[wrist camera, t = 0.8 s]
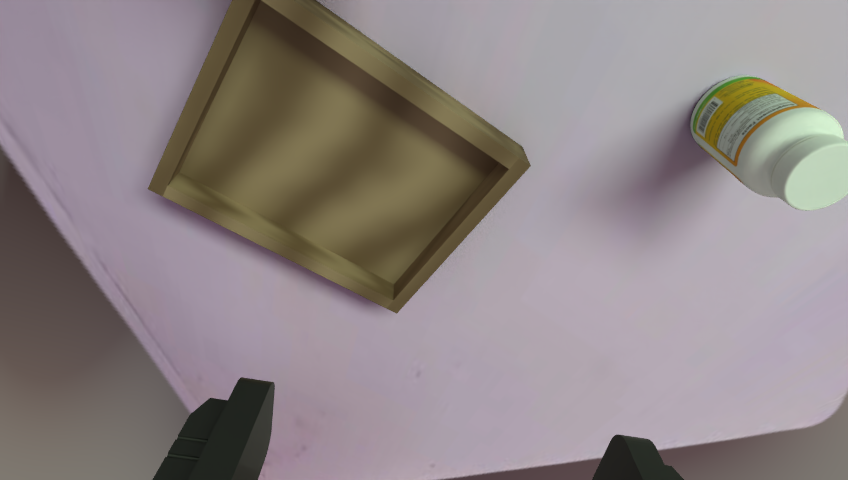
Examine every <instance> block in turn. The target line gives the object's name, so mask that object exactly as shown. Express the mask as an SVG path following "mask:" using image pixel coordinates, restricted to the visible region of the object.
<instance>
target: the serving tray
mask: <svg viewBox="0 0 848 480" xmlns="http://www.w3.org/2000/svg"><path fill="white" fill-rule="evenodd" d="M530 166H531V165H530V163H529V161H528V159H527V156H526V154H525V152H524V149H523V147H522V146H520V145H519V144H518V143H516V142H515V141H513V140H512V139H511V138H509V137H508V136H506V135H505V134H503V133H502V132H501V131H499V130H498V129H496V128H495V127H494V126H492V125H491V124H489V123H488V122H487V121H485V120H484V119H482V118H481V117H480V116H478V115H477V114H475V113H474V112H472V111H471V110H470V109H468V108H467V107H465V106H464V105H463V104H461V103H460V102H458V101H457V100H456V99H454V98H453V97H451V96H450V95H448V94H447V93H446V92H444V91H443V90H441V89H440V88H439V87H437V86H436V85H434V84H433V83H432V82H430V81H429V80H427V79H426V78H425V77H423V76H422V75H420V74H419V73H417V72H416V71H415V70H413V69H412V68H410V67H409V66H408V65H406V64H405V63H403V62H402V61H401V60H399V59H398V58H396V57H395V56H394V55H392V54H391V53H389V52H388V51H386V50H385V49H384V48H382V47H381V46H379V45H378V44H377V43H375V42H374V41H372V40H371V39H370V38H368V37H367V36H365V35H364V34H362V33H361V32H360V31H358V30H357V29H355V28H354V27H353V26H351V25H350V24H348V23H347V22H346V21H344V20H343V19H341V18H340V17H339V16H337V15H336V14H334V13H333V12H331V11H330V10H329V9H327V8H326V7H324V6H323V5H322V4H320V3H319V2H317V1H316V0H232V2H231V4H230V6H229V8H228V11H227V13H226V15H225V17H224V20H223V22H222V24H221V26H220V28H219V31H218V33H217V35H216V37H215V40H214V42H213V44H212V46H211V49H210V51H209V53H208V55H207V58H206V60H205V62H204V64H203V66H202V69H201V71H200V73H199V75H198V78H197V80H196V82H195V84H194V87H193V89H192V91H191V93H190V96H189V98H188V100H187V102H186V105H185V107H184V109H183V111H182V113H181V116H180V118H179V120H178V122H177V125H176V127H175V129H174V131H173V134H172V136H171V138H170V140H169V143H168V145H167V147H166V149H165V151H164V154H163V156H162V158H161V160H160V163H159V165H158V167H157V169H156V172H155V174H154V176H153V178H152V181H151V183H150V185H149V187H148V189H149V190H151V191H153V192H155V193H157V194H159V195H161V196H163V197H165V198H167V199H169V200H171V201H173V202H175V203H177V204H179V205H181V206H183V207H185V208H187V209H189V210H191V211H193V212H195V213H197V214H199V215H201V216H203V217H205V218H207V219H209V220H211V221H213V222H215V223H217V224H219V225H221V226H223V227H225V228H227V229H229V230H231V231H233V232H235V233H237V234H239V235H241V236H243V237H245V238H247V239H249V240H251V241H253V242H255V243H257V244H259V245H261V246H263V247H265V248H267V249H269V250H271V251H273V252H275V253H277V254H279V255H281V256H283V257H285V258H287V259H289V260H291V261H293V262H295V263H297V264H299V265H301V266H303V267H305V268H307V269H309V270H311V271H313V272H315V273H317V274H319V275H321V276H323V277H325V278H327V279H329V280H331V281H333V282H335V283H337V284H339V285H341V286H343V287H345V288H347V289H349V290H351V291H353V292H355V293H357V294H359V295H361V296H363V297H365V298H367V299H369V300H371V301H373V302H375V303H377V304H379V305H381V306H383V307H385V308H387V309H389V310H391V311H393V312H395V313H398V312H399V310H400V309H401V308H402V307H403V306H404V305H405V304H406V303H407V302H408V301H409V299H410V298H411V297H412V296H413V295H414V294H415V293H416V292H417V291H418V290H419V288H420V287H421V286H422V285H423V284H424V283H425V282H426V281H427V280H428V278H429V277H430V276H431V275H432V274H433V273H434V272H435V271H436V270H437V269H438V267H439V266H440V265H441V264H442V263H443V262H444V261H445V260H446V259H447V258H448V256H449V255H450V254H451V253H452V252H453V251H454V250H455V249H456V248H457V246H458V245H459V244H460V243H461V242H462V241H463V240H464V239H465V238H466V237H467V235H468V234H469V233H470V232H471V231H472V230H473V229H474V228H475V227H476V226H477V224H478V223H479V222H480V221H481V220H482V219H483V218H484V217H485V216H486V215H487V213H488V212H489V211H490V210H491V209H492V208H493V207H494V206H495V205H496V203H497V202H498V201H499V200H500V199H501V198H502V197H503V196H504V195H505V194H506V192H507V191H508V190H509V189H510V188H511V187H512V186H513V185H514V184H515V183H516V181H517V180H518V179H519V178H520V177H521V176H522V175H523V174H524V173H525V171H526V170H527V169H528V168H529V167H530Z"/></svg>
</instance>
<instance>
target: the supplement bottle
mask: <svg viewBox="0 0 848 480" xmlns="http://www.w3.org/2000/svg"><path fill="white" fill-rule="evenodd" d="M690 128H691V133H692V136H693V138H694V140H695V141H696V143H697V144H698V145H699V146H700V147H701V148H702V149H704V150H705V151H706V152H707V153H708V154H710V155H711V156H712V157H713V158H714V159H715V160H716V161H718V162H719V163H720V164H721V165H722V166H723V167H724V168H726V169H727V170H728V171H729V172H730V173H731V174H733V175H734V176H735V177H736V178H737V179H738V180H739V181H740V182H742V183H743V184H744V185H745V186H746V187H748V188H749V189H751V190H752V191H754V192H755V193H757V194H760V195H763V196H767V197H779V198H780V199H782V200H783V201H785V202H786V203H787V204H788V205H790V206H791V207H793V208H795V209H798V210H805V211H809V210H817V209H821V208H824V207H827V206H830V205H832V204H834V203H836V202H837V201H839V200H840V199H842V198H843V197H845V196H846V195H847V194H848V142H847V141H846V140H844V136H843V131H842V128H841V126H840V124H839V123H838V121H837V120H836V119H835V118H834V117H832V116H831V115H830V114H828V113H826V112H825V111H823V110H821V109H819V108H817V107H815V106H813V105H811V104H809V103H807V102H805V101H803V100H802V99H800V98H798V97H796V96H794V95H792V94H790V93H788V92H786V91H784V90H782V89H780V88H779V87H777V86H775V85H773V84H771V83H769V82H767V81H765V80H763V79H760V78H758V77H755V76H748V75H743V76H736V77H732V78H729V79H726V80H724V81H722V82H720V83H718V84H716V85H715V86H713V87H712V88H711V89H710V90H708V91H707V92H706V93H705V94H704V96H703V97H702V98H701V99H700V100H699V102H698V103H697V105H696V107H695V109H694V111H693V114H692V117H691V122H690Z"/></svg>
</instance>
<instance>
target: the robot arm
mask: <svg viewBox="0 0 848 480" xmlns="http://www.w3.org/2000/svg"><path fill="white" fill-rule="evenodd" d="M274 389H275V385H274V382H268V381H262V380H255V379H248V378H240V379H239V380H238V382H237V384H236V386H235V388H234V390H233V392H232V394H231V396H230V398H229V400H228V401H227V400H221V399H214V398H210V399H208V400H207V401H206V402H205V403H204V404H202V405H201V406H200V407H199V408H197V409H196V410H195V411H194V412H193V413H191V414H190V416H189V417H188V419H187V421H186V423H185V424H184V426H183V428H182V430H181V432H180V433H179V435H178V438H177V440H175V442H174V443H173V445H172V447H171V449H170V450H169V452H168V456H167V457H165V459H164V461H163V463H162V464H161V466H160V468H159V469H158V471H157V473H156V475H155V476H154V478H153V480H258V477H259V474H260V472H261V469H262V466H263V463H264V460H265V457H266V454H267V450H268V446H269V442H270V437H271V429H272V416H273V403H274ZM593 480H684V479H683V478H682V477H681V476H680V475H679V474H678V473H677V472H676V470H675V469H674V468H673V467H672V466H667V465H664V463H663V461H662V459H661V457H660V455H659V453H658V451H657V449H656V447H655V445H654V444H653V442H652V441H650V440H649V439H644V438H637V437H631V436H624V435H615V436H614V437H613V438H612V439H611V441H610V443H609V445H608V448H607V450H606V452H605V454H604V456H603V458H602V460H601V462H600V464H599V466H598V468H597V470H596V472H595V474H594V477H593Z"/></svg>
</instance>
